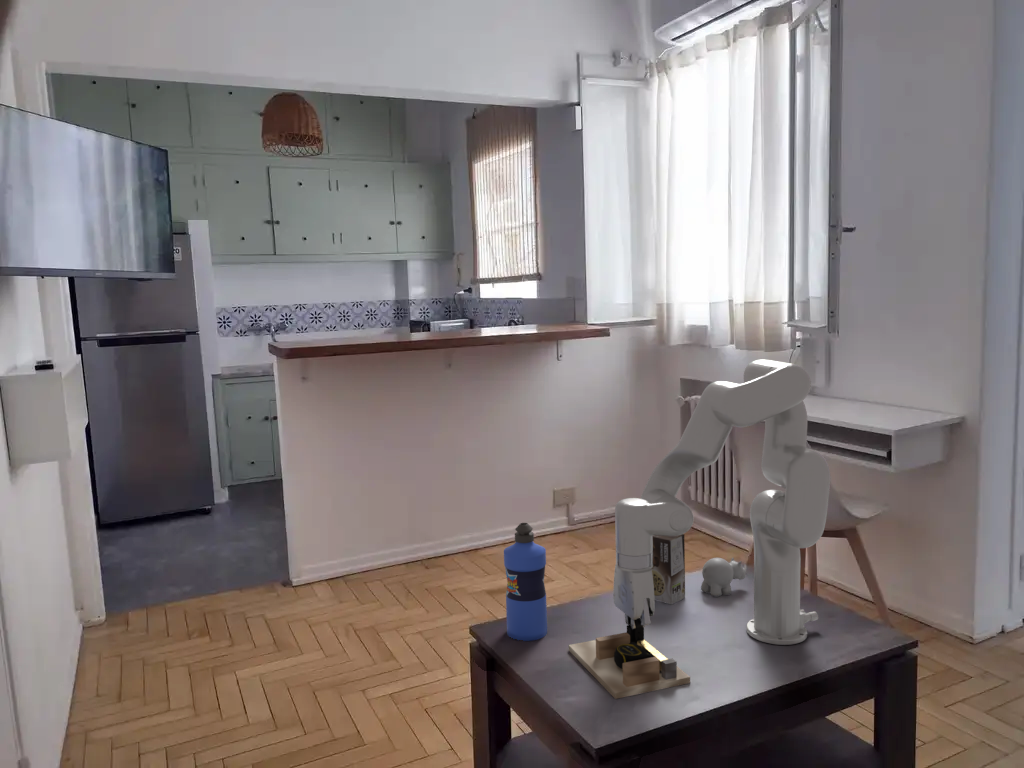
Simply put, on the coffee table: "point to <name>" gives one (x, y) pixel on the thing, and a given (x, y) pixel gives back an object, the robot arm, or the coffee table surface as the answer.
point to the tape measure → (630, 654)
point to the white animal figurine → (721, 575)
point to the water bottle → (525, 586)
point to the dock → (616, 673)
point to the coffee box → (668, 568)
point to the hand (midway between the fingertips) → (635, 643)
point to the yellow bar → (651, 651)
